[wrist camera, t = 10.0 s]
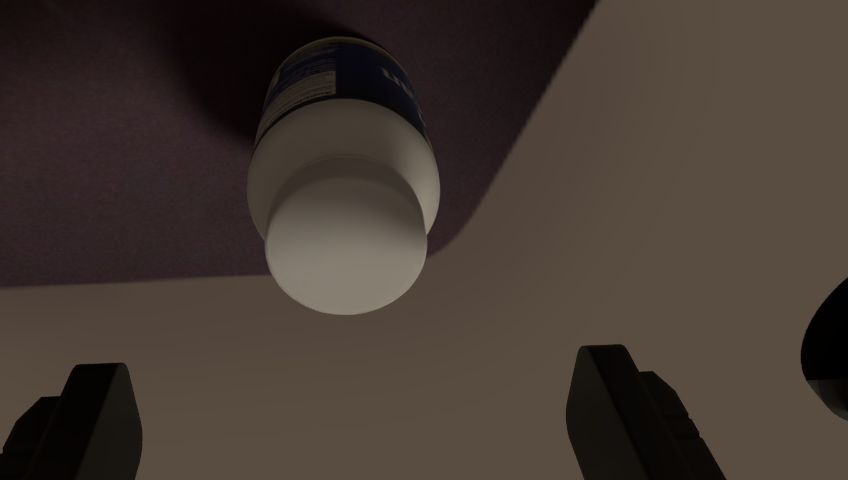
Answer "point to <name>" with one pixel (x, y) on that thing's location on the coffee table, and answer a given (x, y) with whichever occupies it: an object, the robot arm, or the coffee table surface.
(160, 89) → the coffee table surface
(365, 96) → the pill bottle
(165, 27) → the coffee table surface
